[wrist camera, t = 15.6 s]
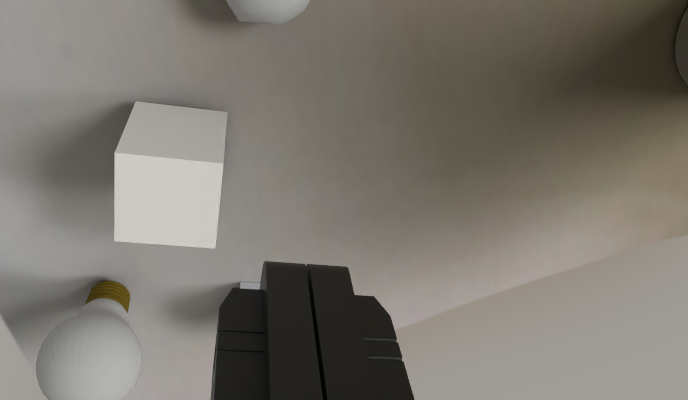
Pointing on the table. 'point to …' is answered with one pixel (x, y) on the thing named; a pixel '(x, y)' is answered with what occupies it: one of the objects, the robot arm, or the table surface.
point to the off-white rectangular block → (169, 176)
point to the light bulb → (92, 350)
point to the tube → (267, 10)
